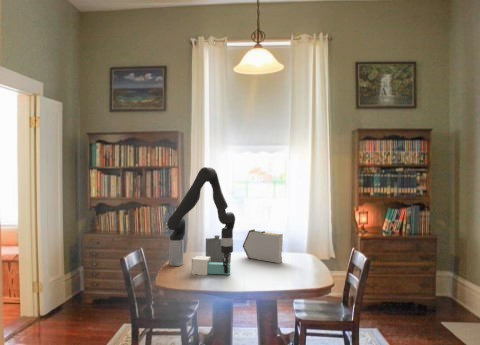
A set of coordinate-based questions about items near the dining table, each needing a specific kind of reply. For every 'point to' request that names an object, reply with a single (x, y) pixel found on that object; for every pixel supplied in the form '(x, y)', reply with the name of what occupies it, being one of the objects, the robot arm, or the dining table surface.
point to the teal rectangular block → (216, 268)
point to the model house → (263, 246)
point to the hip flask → (214, 249)
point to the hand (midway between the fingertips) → (226, 271)
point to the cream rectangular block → (200, 265)
